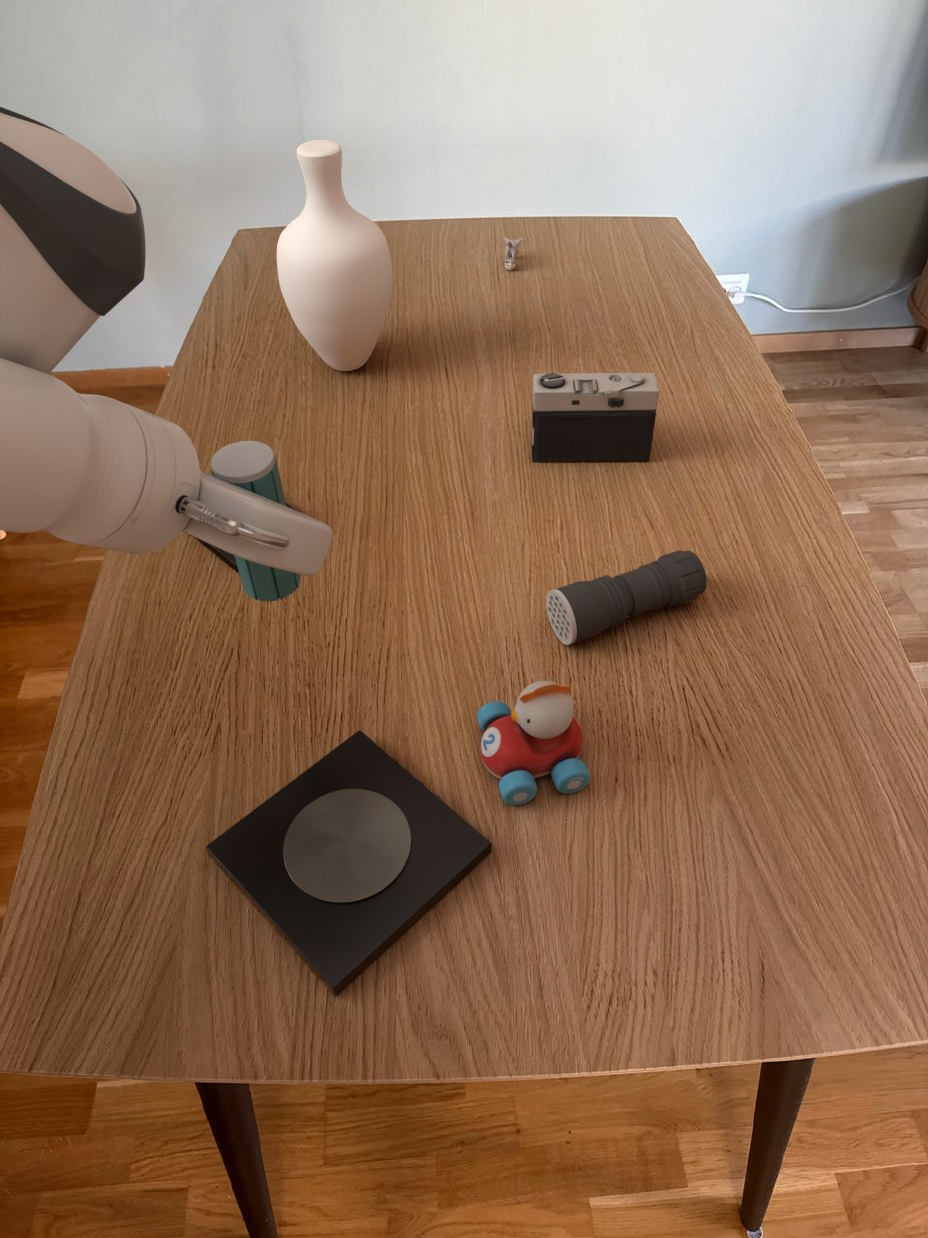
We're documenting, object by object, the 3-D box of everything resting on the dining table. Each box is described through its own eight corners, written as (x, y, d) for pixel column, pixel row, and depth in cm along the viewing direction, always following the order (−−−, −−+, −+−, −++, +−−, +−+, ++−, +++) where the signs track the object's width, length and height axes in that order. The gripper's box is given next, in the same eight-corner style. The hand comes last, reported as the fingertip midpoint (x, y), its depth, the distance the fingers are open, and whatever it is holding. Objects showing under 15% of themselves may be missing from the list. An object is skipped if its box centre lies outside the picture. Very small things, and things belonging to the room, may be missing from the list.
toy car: (469, 726, 81) (466, 651, 74) (563, 706, 82) (569, 630, 75) (495, 812, 75) (495, 739, 68) (597, 789, 76) (607, 715, 69)
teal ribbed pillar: (266, 609, 71) (234, 484, 62) (233, 583, 73) (198, 459, 64) (311, 581, 73) (286, 457, 64) (278, 556, 75) (249, 433, 67)
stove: (335, 997, 65) (332, 987, 63) (209, 856, 73) (203, 844, 72) (492, 852, 72) (491, 841, 71) (361, 739, 81) (359, 727, 79)
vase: (359, 403, 118) (330, 178, 98) (273, 375, 124) (229, 156, 104) (420, 353, 126) (405, 136, 106) (337, 329, 132) (308, 118, 112)
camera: (643, 424, 113) (652, 350, 106) (650, 463, 107) (661, 389, 100) (530, 424, 114) (532, 351, 107) (531, 464, 108) (533, 390, 101)
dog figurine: (521, 277, 147) (524, 240, 146) (518, 263, 139) (520, 225, 138) (501, 276, 147) (504, 240, 147) (497, 262, 139) (499, 224, 139)
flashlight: (677, 573, 94) (684, 533, 90) (707, 607, 91) (716, 567, 87) (544, 619, 90) (546, 579, 86) (570, 656, 87) (574, 616, 83)
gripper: (270, 484, 52) (388, 524, 64) (37, 388, 60) (182, 439, 73) (233, 587, 52) (356, 606, 65) (7, 478, 61) (155, 513, 73)
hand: (263, 518), depth 69 cm, fingers closed on teal ribbed pillar, 4 cm apart
